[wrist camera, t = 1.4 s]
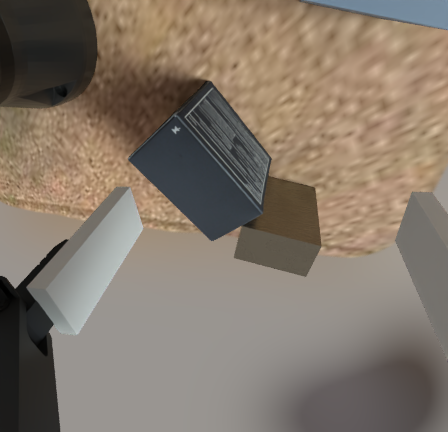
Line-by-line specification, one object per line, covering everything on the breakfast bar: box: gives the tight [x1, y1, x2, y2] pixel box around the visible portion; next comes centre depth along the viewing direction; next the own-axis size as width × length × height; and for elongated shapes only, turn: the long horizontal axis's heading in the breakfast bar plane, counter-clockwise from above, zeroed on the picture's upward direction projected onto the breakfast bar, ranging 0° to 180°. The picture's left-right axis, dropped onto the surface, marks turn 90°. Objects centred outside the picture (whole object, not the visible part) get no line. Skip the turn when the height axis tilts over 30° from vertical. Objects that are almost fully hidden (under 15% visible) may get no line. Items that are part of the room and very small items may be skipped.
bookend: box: [234, 176, 321, 277], centre depth 30 cm, size 7×4×10 cm, turn 80°
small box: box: [128, 81, 272, 241], centre depth 28 cm, size 11×6×10 cm, turn 41°
